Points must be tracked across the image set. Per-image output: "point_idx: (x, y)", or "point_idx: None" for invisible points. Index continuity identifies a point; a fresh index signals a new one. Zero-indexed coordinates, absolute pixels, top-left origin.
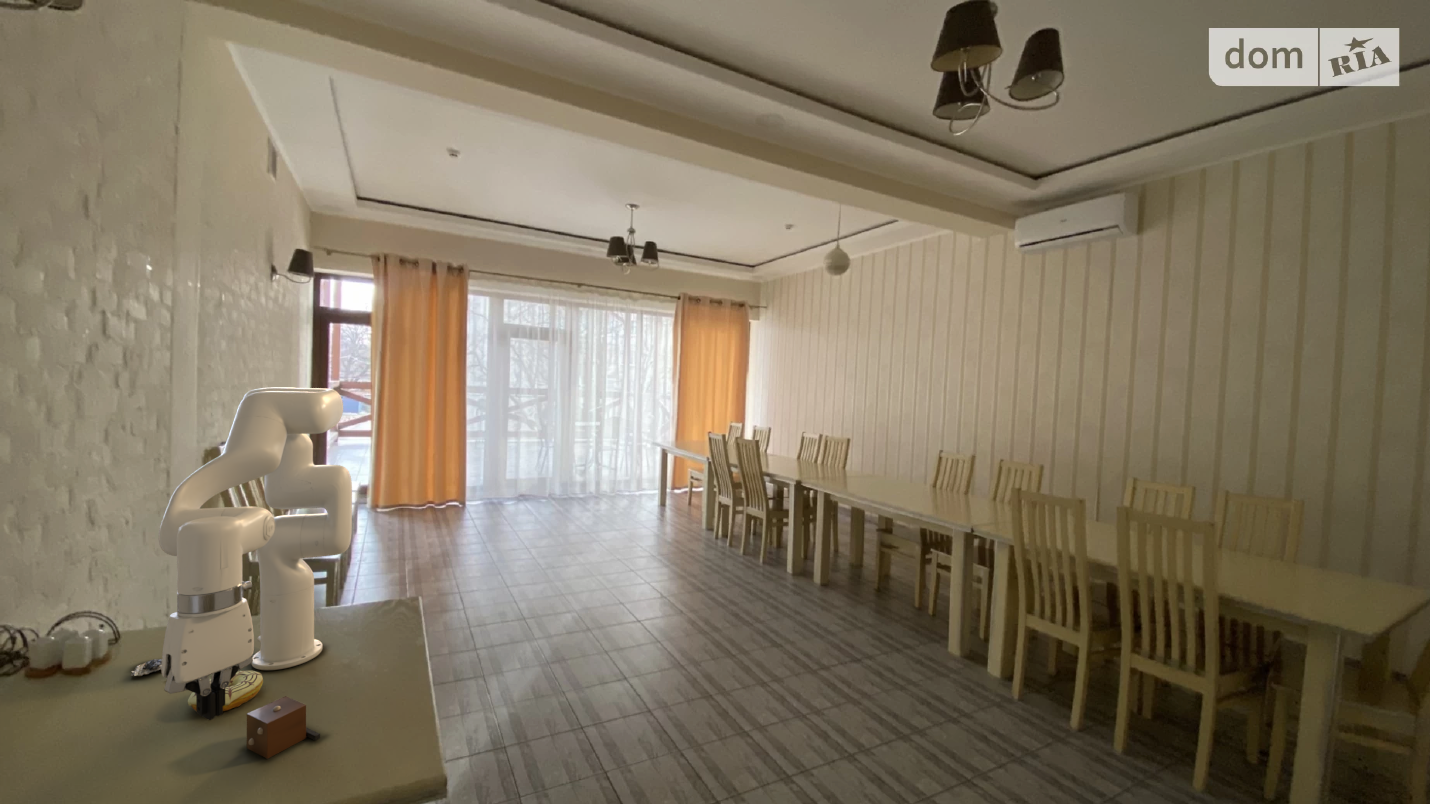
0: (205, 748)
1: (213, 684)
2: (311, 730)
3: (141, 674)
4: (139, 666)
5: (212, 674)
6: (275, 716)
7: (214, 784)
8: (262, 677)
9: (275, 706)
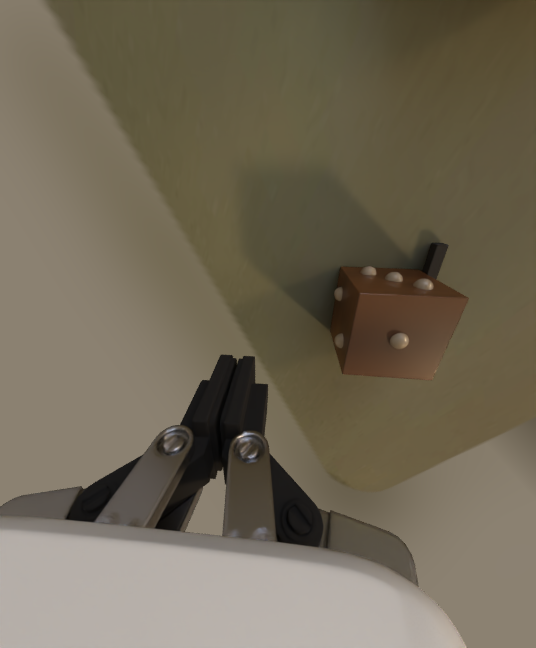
0: (309, 177)
1: (225, 470)
2: None
3: None
4: None
5: (226, 488)
6: (370, 365)
7: (256, 319)
8: None
9: (409, 327)
